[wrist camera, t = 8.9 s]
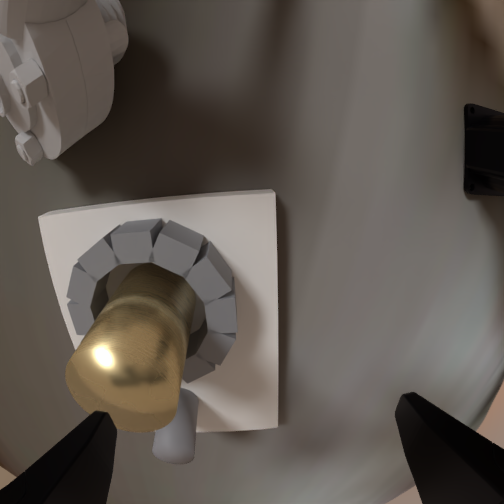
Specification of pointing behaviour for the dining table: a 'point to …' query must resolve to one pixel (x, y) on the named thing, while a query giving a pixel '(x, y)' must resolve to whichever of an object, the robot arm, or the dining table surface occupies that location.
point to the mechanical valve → (58, 70)
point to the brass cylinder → (136, 351)
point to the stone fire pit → (206, 292)
